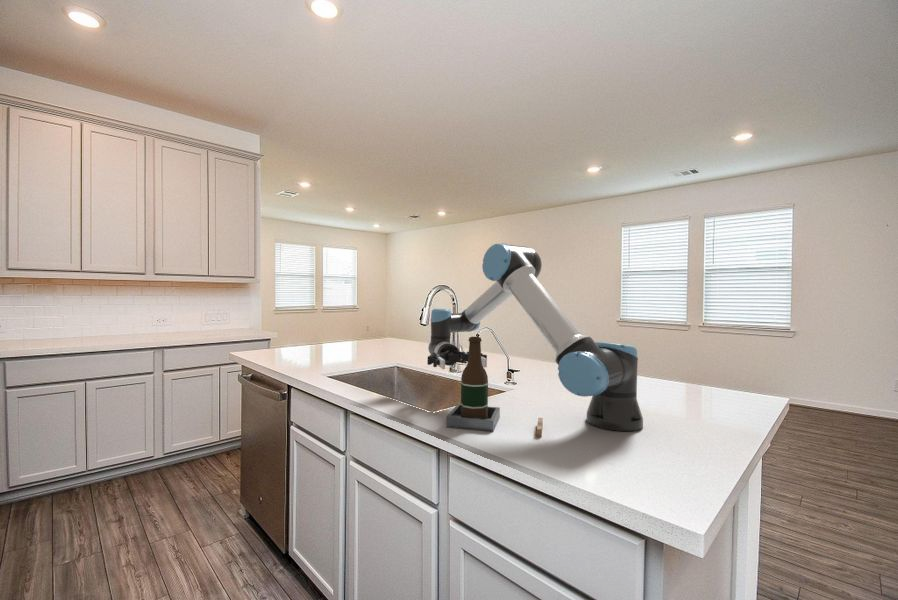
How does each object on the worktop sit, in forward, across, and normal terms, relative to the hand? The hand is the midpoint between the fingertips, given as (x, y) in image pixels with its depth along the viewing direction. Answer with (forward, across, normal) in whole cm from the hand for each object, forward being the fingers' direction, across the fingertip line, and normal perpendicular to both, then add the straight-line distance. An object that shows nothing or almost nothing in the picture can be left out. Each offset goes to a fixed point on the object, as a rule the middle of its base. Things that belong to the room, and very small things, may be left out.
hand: (465, 363), depth 125 cm
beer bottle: (+9, 0, -15) cm, 17 cm away
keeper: (+9, 0, -15) cm, 18 cm away
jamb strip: (+20, -15, -15) cm, 29 cm away
